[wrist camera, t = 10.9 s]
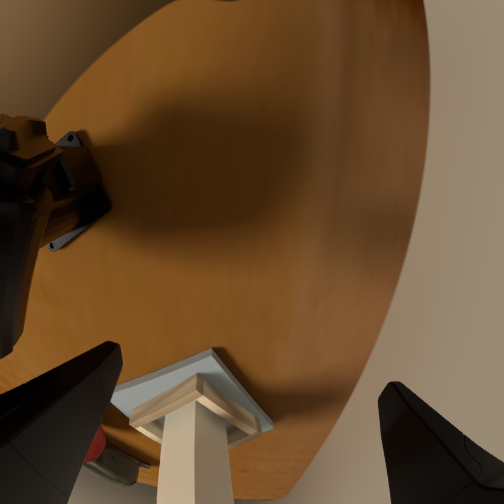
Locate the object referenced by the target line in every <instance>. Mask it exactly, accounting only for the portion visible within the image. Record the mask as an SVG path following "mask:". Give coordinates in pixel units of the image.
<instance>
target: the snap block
mask: <svg viewBox="0 0 504 504" xmlns="http://www.w3.org/2000/svg"><path fill="white" fill-rule="evenodd" d="M157 504H234V500H233V492H232V483H231V473H230V464H229V453H228V443H227V431H226V420H225V419H224V418H222V417H220V416H219V415H217V414H216V413H214V412H213V411H211V410H210V409H208V408H207V407H206V406H204V405H203V404H201V403H200V402H198V401H197V400H194V401H192V402H190V403H188V404H186V405H184V406H182V407H180V408H178V409H176V410H174V411H172V412H170V413H168V414H166V415H165V422H164V430H163V438H162V447H161V457H160V468H159V479H158V492H157Z"/></svg>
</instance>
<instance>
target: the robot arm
mask: <svg viewBox="0 0 504 504" xmlns="http://www.w3.org/2000/svg"><path fill="white" fill-rule="evenodd" d="M71 136H73V140H72V142H71V141H70V138H71ZM48 137H49V136H47V132H46V123H45V122H44V121H43V120H41V119H39V118H35V117H30V116H22V115H19V116H15V117H11V116H9V115H6V114H3V113H1V114H0V359H1V358H4V357H5V356H7V355H8V354H10V353H11V352H12V351H13V346H14V345H15V344H16V342H17V341H18V339H19V338H20V336H21V334H22V333H23V329H24V323H25V317H26V310H27V304H28V298H29V292H30V287H31V282H32V277H33V273H34V268H35V264H36V260H37V256H38V252H39V249H40V248H42V247H44V246H45V245H46V246H47V247H48V249H49V250H50V251H51V252H55V251H57V250H58V249H60V248H61V247H62V246H63V245H65V244H66V243H67V242H68V241H70V240H71V239H72V238H74V237H75V236H76V235H77V234H79V233H80V232H81V231H83V230H84V229H85V228H87V227H88V226H90V225H91V224H92V223H94V222H95V221H96V220H98V219H99V218H101V217H102V216H103V215H105V214H106V213H108V212H109V211H110V210H111V208H112V202H111V200H110V198H109V196H108V194H107V192H106V191H105V189H104V187H103V185H102V176H101V174H100V172H99V170H98V168H97V166H96V164H95V162H94V160H93V158H92V156H91V153H90V151H89V149H88V148H84V146H83V144H82V142H81V139H80V137H79V135H78V133H77V132H73V131H70V132H68V133H67V134H66V135H65V136H64V137H62V138H61V139H60V140H59V141H58V142H57V143H55V144H54V143H53V142H51V141H50V140H49V139H48ZM103 202H105V203H106V204H107V208H106V209H104V208H103V206H102V205H103ZM52 243H54V245H55V247H53V245H52ZM122 366H123V360H122V353H121V347H120V345H119V344H118V343H115V342H112V341H106V342H104V343H102V344H100V345H98V346H96V347H94V348H92V349H90V350H89V351H87V352H85V353H83V354H81V355H79V356H77V357H75V358H73V359H71V360H69V361H67V362H65V363H63V364H61V365H59V366H57V367H56V368H54V369H52V370H50V371H48V372H46V373H44V374H42V375H40V376H38V377H36V378H34V379H32V380H30V381H28V382H26V383H24V384H22V385H20V386H18V387H16V388H14V389H12V390H9V391H7V392H5V393H3V394H0V504H67V503H68V500H69V497H70V495H71V492H72V489H73V487H74V484H75V482H76V479H77V476H78V474H79V472H80V469H81V467H82V465H83V462H84V460H85V458H86V455H87V453H88V451H89V448H90V446H91V444H92V441H93V439H94V437H95V435H96V433H97V430H98V428H99V426H100V424H101V422H102V420H103V417H104V415H105V413H106V411H107V409H108V407H109V404H110V401H111V399H112V396H113V393H114V390H115V387H116V384H117V381H118V378H119V375H120V373H121V370H122ZM378 409H379V419H380V430H381V439H382V445H383V451H384V456H385V462H386V469H387V475H388V482H389V489H390V497H391V504H504V463H503V462H502V461H501V460H499V459H498V458H496V457H494V456H493V455H492V454H490V453H489V452H487V451H486V450H484V449H483V448H481V447H480V446H478V445H477V444H476V443H474V442H473V441H472V440H471V439H469V438H468V437H467V436H466V435H463V433H462V432H461V431H459V430H458V429H457V428H456V427H455V426H453V425H452V424H451V423H450V422H449V421H447V420H446V419H445V418H444V417H442V416H441V415H440V414H439V413H438V412H436V411H435V410H434V409H433V408H432V407H430V406H429V405H428V404H427V403H425V402H424V401H423V400H422V399H420V398H419V397H418V396H417V395H416V394H414V393H413V392H412V391H411V390H410V389H408V388H407V387H406V386H405V385H404V384H402V383H401V382H399V381H393V382H389V383H388V384H387V385H386V387H385V388H384V390H383V391H382V393H381V395H380V396H379V398H378Z"/></svg>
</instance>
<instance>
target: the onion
mask: <svg viewBox="0 0 504 504" xmlns="http://www.w3.org/2000/svg"><path fill="white" fill-rule="evenodd" d="M105 445H106V437H105V434H104V431H103V428H102V426H101V425H100V426H99V428H98V430H97V433H96V435H95V437H94V439H93V441H92V444H91V446H90V448H89V451H88V453H87V455H86V458H85V460H84V462H83V463H87V462H91V461H94V460H96V459H97V458H98V457H99V456H100V455H101V453H102V452H103V450H104V448H105Z"/></svg>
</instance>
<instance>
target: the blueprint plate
mask: <svg viewBox="0 0 504 504" xmlns="http://www.w3.org/2000/svg"><path fill="white" fill-rule="evenodd" d="M196 373H198V374H199V375H200V376H201V377H202V378H204V379H205V380H206V381H208V382H209V383H210V384H211V385H213V386H214V387H215V388H217V389H218V390H219V391H220V392H222V393H223V394H224V395H226V396H227V397H228V398H230V399H231V400H233V401H234V402H235V403H237V404H238V405H240V406H241V407H242V408H244V409H245V410H247V411H248V412H250V413H251V414H252V415H254V416H255V417H257V418H258V419H259V420H260V426H261V430H262V433H263V432H265V431H268V430H271V429H273V428H274V425H273V421H272V420H271V419H270V418H269V417H268V415H267V414H266V413H265V412H264V411H263V410H262V409H261V408H260V406H259V405H258V404H257V403H256V402H255V401H254V400H253V398H252V397H251V396H250V395H249V394H248V393H247V391H246V390H245V389H244V388H243V387H242V385H241V384H240V383H239V382H238V381H237V379H236V378H235V377H234V376H233V374H232V373H231V372H230V371H229V369H228V368H227V367H226V366H225V364H224V363H223V362H222V361H221V359H220V358H219V357H218V356H217V354H216V353H215V352H214V350H213V349H212V348H210V349H208V350H205V351H203V352H201V353H198V354H196V355H194V356H191V357H189V358H187V359H184V360H182V361H179V362H177V363H175V364H172V365H170V366H167V367H165V368H162V369H160V370H157V371H155V372H152V373H149V374H147V375H144V376H142V377H139V378H136V379H134V380H131V381H128V382H125V383H123V384H120V385H117V386H116V387H115V390H114V393H113V396H112V399H111V401H110V402H111V403H112V404H113V405H115V406H116V407H117V408H118V409H119V410H120V411H121V412H122V413H123V414H125V415H126V416H127V417H128V418H129V419H130V417H131V413H132V409H133V408H135V407H137V406H139V405H141V404H143V403H145V402H147V401H148V400H150V399H152V398H154V397H156V396H158V395H159V394H161V393H163V392H165V391H167V390H168V389H170V388H172V387H174V386H175V385H177V384H179V383H180V382H182V381H184V380H186V379H187V378H189V377H191V376H192V375H194V374H196ZM156 420H158V421H160V422H161V423H163V424H164V422H165V415H164V416H162V417H160V418H158V419H156ZM232 426H235V425H233V424H231V423H230V422H228V421H227V420H226V429H228V428H230V427H232Z"/></svg>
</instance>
